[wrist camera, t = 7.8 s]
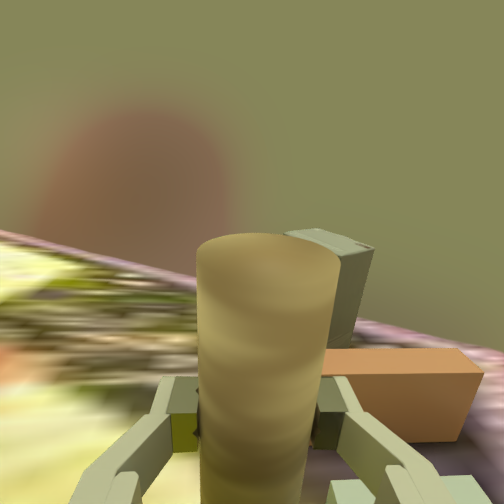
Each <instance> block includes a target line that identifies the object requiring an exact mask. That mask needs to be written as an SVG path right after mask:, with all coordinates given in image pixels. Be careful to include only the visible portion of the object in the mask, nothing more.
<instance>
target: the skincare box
mask: <svg viewBox="0 0 504 504" xmlns="http://www.w3.org/2000/svg"><path fill="white" fill-rule="evenodd" d="M283 235H286V236H292V237H297V238H301V239H305V240H308V241H312V242H314V243H317V244H319V245H322V246H324V247H326V248H328V249H329V250H331V251H332V252H334V253H335V254H336V255H337V256H338V258H339V259H340V262H341V266H340V272H339V278H338V283H337V289H336V295H335V300H334V306H333V312H332V317H331V323H330V329H329V334H328V340H327V346H326V349H349V345H350V341H351V337H352V333H353V329H354V326H355V322H356V318H357V314H358V309H359V306H360V302H361V298H362V294H363V290H364V286H365V283H366V279H367V275H368V272H369V268H370V264H371V260H372V257H373V253H374V250H375V248H374V247H371V246H368V245H365V244H362V243H360V242H357V241H354V240H351V239H350V238H348V237H346V236H342V235H337V234H334V233H331V232H328V231H325V230H322V229H319V228H314V229H307V230H297V231H289V232H285V233H284V234H283Z"/></svg>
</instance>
